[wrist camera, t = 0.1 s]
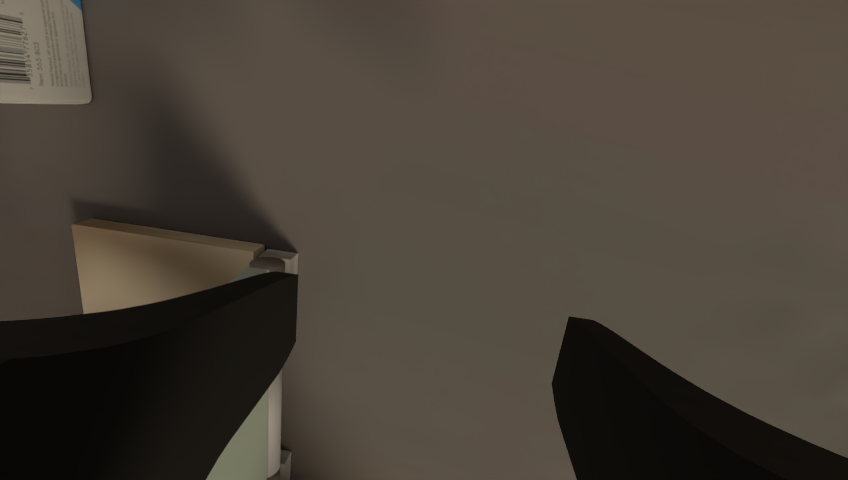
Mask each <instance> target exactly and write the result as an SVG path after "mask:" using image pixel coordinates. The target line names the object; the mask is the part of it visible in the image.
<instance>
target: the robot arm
mask: <svg viewBox="0 0 848 480" xmlns="http://www.w3.org/2000/svg"><path fill="white" fill-rule="evenodd" d="M297 290H298V275H297V274H291V273H284V272H278V271H274V272H267V273H263V274H259V275H255V276H251V277H248V278H244V279H241V280H237V281H234V282H231V283H227V284H224V285H221V286H217V287H214V288H210V289H207V290H203V291H199V292H195V293H192V294H188V295H184V296H180V297H176V298H173V299H169V300H164V301H160V302H155V303H150V304H146V305H140V306H135V307H129V308H124V309H118V310H112V311H104V312H96V313H88V314H80V315H72V316H64V317H55V318H43V319H30V320H16V321H0V480H206V479H207V477H208V475H209V474H210V472H211V470H212V468H213V467H214V465H215V463H216V462H217V460H218V458H219V457H220V455H221V454H222V452H223V451H224V449H225V448H226V446H227V445H228V443H229V442H230V440H231V439H232V437H233V436H234V435H235V433H236V432H237V431H238V429H239V428H240V426H241V425H242V424H243V422H244V421H245V420H246V418H247V417H248V416H249V414H250V413H251V411H252V410H253V409H254V407H255V406H256V405H257V403H258V402H259V401H260V399H261V398H262V396H263V395H264V394H265V392H266V391H267V389H268V388H269V387H270V385H271V384H272V382H273V381H274V380H275V378H276V377H277V375H278V374H279V373H280V371H281V369H282V367H283V365H284V364H285V362H286V360H287V358H288V356H289V354H290V352H291V350H292V348H293V346H294V344H295V342H296V319H297ZM552 388H553V395H554V402H555V407H556V413H557V418H558V421H559V425H560V428H561V431H562V434H563V438H564V441H565V444H566V447H567V450H568V453H569V456H570V459H571V463H572V466H573V469H574V472H575V475H576V478H577V480H848V458H846V457H843V456H841V455H838V454H836V453H833V452H831V451H829V450H826V449H824V448H821V447H819V446H817V445H814V444H812V443H810V442H807V441H805V440H803V439H801V438H798V437H796V436H794V435H792V434H790V433H787V432H785V431H783V430H781V429H779V428H776V427H774V426H772V425H770V424H768V423H765V422H763V421H761V420H759V419H757V418H755V417H753V416H751V415H749V414H747V413H745V412H743V411H741V410H739V409H738V408H736V407H734V406H732V405H730V404H728V403H726V402H724V401H722V400H721V399H719V398H717V397H715V396H713V395H711V394H710V393H708V392H706V391H704V390H702V389H701V388H699V387H697V386H696V385H694V384H692V383H691V382H689V381H687V380H686V379H684V378H683V377H681V376H679V375H678V374H676V373H674V372H673V371H671V370H670V369H668V368H667V367H665V366H663V365H662V364H660V363H659V362H657V361H656V360H654V359H653V358H651V357H650V356H648V355H647V354H645V353H644V352H642V351H641V350H639V349H638V348H637V347H635V346H634V345H632V344H631V343H629V342H628V341H626V340H625V339H623V338H622V337H620V336H619V335H617V334H616V333H614V332H613V331H611V330H610V329H608V328H607V327H605V326H603V325H602V324H600V323H598V322H596V321H594V320H589V319H582V318H576V317H569V318H568V322H567V326H566V330H565V334H564V338H563V342H562V346H561V349H560V353H559V357H558V361H557V365H556V369H555V373H554V377H553V381H552Z"/></svg>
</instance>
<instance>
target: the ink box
mask: <svg viewBox="0 0 848 480" xmlns="http://www.w3.org/2000/svg"><path fill="white" fill-rule="evenodd" d="M91 100H92V94H91V86H90V78H89V69H88V60H87V51H86V42H85V33H84V24H83V16H82V7H81V0H0V103H20V104H87V103H90V101H91Z"/></svg>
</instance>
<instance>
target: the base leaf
mask: <svg viewBox="0 0 848 480" xmlns="http://www.w3.org/2000/svg"><path fill="white" fill-rule="evenodd" d="M71 226H72V233H73V240H74V248H75V255H76V262H77V269H78V276H79V283H80V291H81V298H82V305H83V312H84V314H88V313H96V312H104V311H112V310H118V309H124V308H129V307H135V306H140V305H146V304H150V303H155V302H160V301H164V300H169V299H173V298H176V297H180V296H184V295H188V294H192V293H195V292H199V291H203V290H207V289H210V288H214V287H217V286H221V285H224V284H227V283H229V282H230V281H231V280H233V279H234V278H235V277H236V276H237V275H238V274H239V273H240V272H242V271H243V270H244V269H245V268H246V267H250V268H259V269H267V270H269V272H274V271H278V272H284V273H291V274H297V272H298V253H293V252H286V251H280V250H273V249H267V250H266V251H265V245H264V244H258V243H251V242H245V241H238V240H231V239H225V238H218V237H212V236H205V235H199V234H192V233H185V232H179V231H172V230H166V229H159V228H153V227H146V226H139V225H133V224H126V223H120V222H113V221H107V220H100V219H93V218H91V219H87V220H84V221H80V222H77V223H73V224H71ZM290 474H291V451H286V450H281V451H280V468H279V470H278V471H277V472H276V473H275V474H274V475H273V476H271V477H268V478H266V480H290Z"/></svg>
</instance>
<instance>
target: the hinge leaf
mask: <svg viewBox="0 0 848 480" xmlns="http://www.w3.org/2000/svg"><path fill="white" fill-rule="evenodd" d="M267 272H269V270H267V269H259V268H250V267H246V268H245V269H244V270H243V271H242V272H240V273H239V274H238V275H237V276H236V277H235V278H234V279H233V280H231V281H230V282H229V283H231V282H234V281H237V280H241V279H244V278H248V277H251V276H255V275H259V274H263V273H267ZM282 370H283V367H282V369H281V371H280V373H279V374H278V375H277V377H276V378H275V380H274V381H273V382H272V384H271V385H270V387H269V388H268V389H267V391H266V392H265V394H264V395H263V396H262V398H261V399H260V401H259V402H258V403H257V405H256V406H255V407H254V409H253V410H252V411H251V413H250V414H249V416H248V417H247V418H246V420H245V421H244V422H243V424H242V425H241V426H240V428H239V429H238V431H237V432H236V433H235V435H234V436H233V437H232V439H231V440H230V442H229V443H228V445H227V446H226V448H225V449H224V451H223V452H222V454H221V455H220V457H219V458H218V460H217V462H216V463H215V465H214V467H213V468H212V470H211V472H210V474H209V475H208V477H207V479H206V480H266V478H268V477H271V476H273V475H274V474H275V473H276V472H277V471H278V470H279V468H280V451H281V410H282Z"/></svg>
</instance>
